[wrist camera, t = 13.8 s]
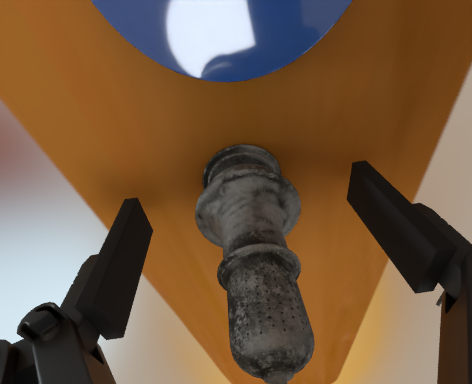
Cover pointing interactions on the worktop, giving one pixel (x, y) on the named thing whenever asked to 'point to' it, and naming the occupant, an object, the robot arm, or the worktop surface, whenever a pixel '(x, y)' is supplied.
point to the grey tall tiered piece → (257, 260)
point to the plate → (223, 33)
